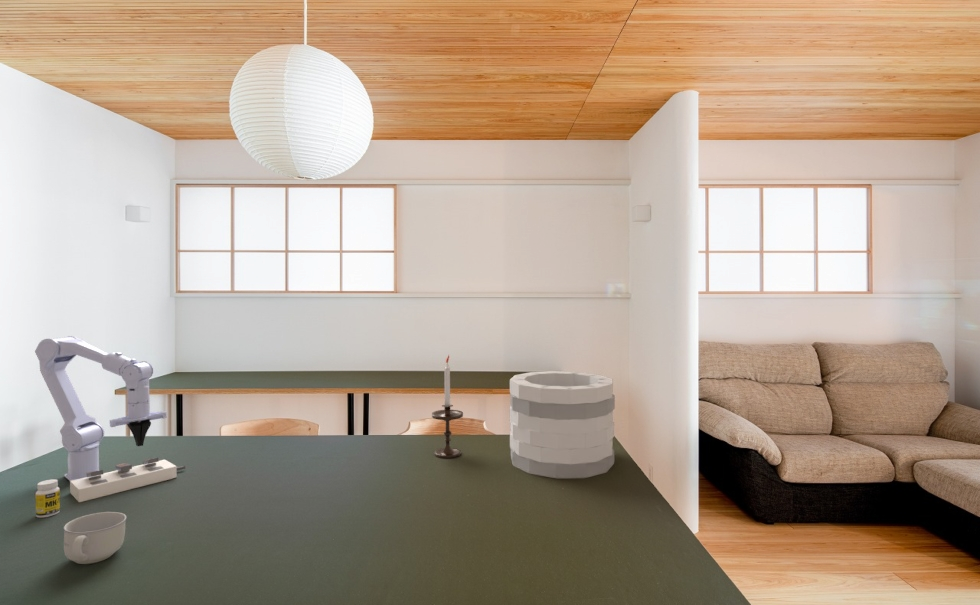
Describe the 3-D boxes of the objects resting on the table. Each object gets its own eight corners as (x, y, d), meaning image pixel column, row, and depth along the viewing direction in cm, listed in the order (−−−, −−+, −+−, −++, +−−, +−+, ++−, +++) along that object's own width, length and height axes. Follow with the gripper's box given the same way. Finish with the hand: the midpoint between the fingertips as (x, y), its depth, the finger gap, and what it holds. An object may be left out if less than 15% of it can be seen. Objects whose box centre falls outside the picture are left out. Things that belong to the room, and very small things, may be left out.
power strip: (70, 493, 147) (69, 478, 146) (178, 466, 168) (178, 454, 168) (79, 502, 140) (78, 487, 140) (190, 473, 162) (190, 460, 162)
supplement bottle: (45, 519, 130) (44, 486, 130) (30, 517, 131) (30, 484, 131) (64, 510, 135) (64, 479, 135) (50, 509, 136) (49, 477, 135)
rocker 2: (115, 469, 154) (115, 465, 154) (126, 467, 156) (126, 462, 156) (120, 471, 151) (120, 467, 151) (131, 468, 153) (131, 464, 153)
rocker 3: (142, 464, 159) (142, 460, 159) (153, 462, 161) (152, 458, 162) (148, 463, 156) (147, 459, 156) (158, 461, 158) (158, 457, 158)
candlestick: (469, 452, 182) (468, 353, 181) (450, 461, 173) (450, 357, 172) (444, 447, 188) (444, 351, 187) (425, 455, 178) (425, 355, 178)
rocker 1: (86, 477, 148) (86, 472, 149) (98, 474, 151) (98, 470, 151) (91, 476, 145) (90, 472, 146) (103, 474, 147) (102, 469, 148)
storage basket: (506, 445, 190) (505, 371, 190) (599, 443, 192) (599, 370, 191) (514, 480, 155) (514, 389, 155) (628, 478, 157) (628, 388, 156)
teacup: (87, 545, 116) (86, 510, 116) (137, 543, 117) (137, 508, 117) (38, 580, 103) (37, 540, 102) (96, 577, 103) (95, 538, 103)
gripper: (113, 407, 151) (114, 453, 151) (169, 399, 162) (170, 442, 162) (107, 404, 155) (108, 449, 156) (161, 396, 166) (162, 438, 167)
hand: (139, 445), depth 159 cm, fingers closed
